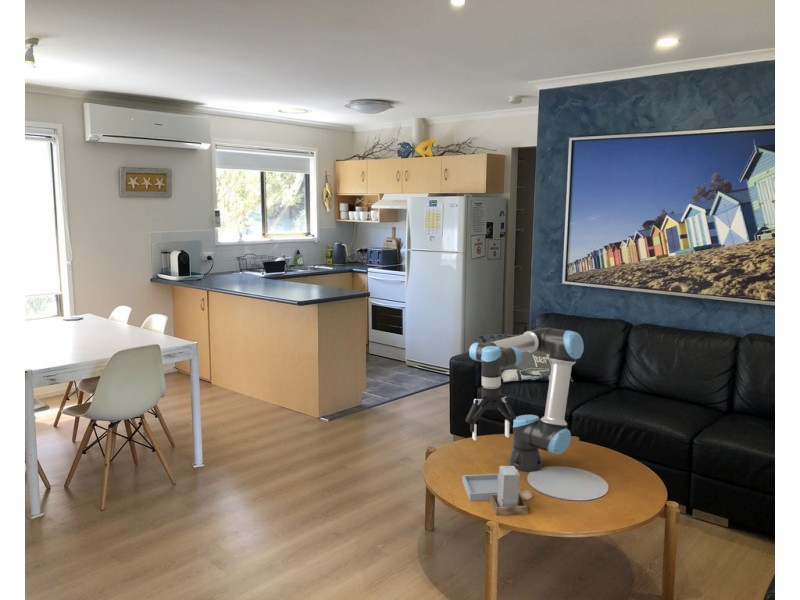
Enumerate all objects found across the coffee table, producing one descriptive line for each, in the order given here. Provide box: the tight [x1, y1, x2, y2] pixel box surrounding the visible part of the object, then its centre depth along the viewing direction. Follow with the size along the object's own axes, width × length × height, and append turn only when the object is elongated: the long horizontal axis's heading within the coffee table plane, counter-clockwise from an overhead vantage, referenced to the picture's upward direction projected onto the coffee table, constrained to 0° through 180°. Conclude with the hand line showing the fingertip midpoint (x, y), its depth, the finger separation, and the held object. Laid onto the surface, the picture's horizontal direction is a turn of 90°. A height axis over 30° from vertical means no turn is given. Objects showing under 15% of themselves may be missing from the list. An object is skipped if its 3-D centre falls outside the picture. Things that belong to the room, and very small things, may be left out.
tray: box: [461, 473, 499, 502], centre depth 256 cm, size 16×18×3 cm
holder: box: [489, 493, 528, 516], centre depth 241 cm, size 12×12×3 cm
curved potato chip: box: [519, 488, 534, 501], centre depth 251 cm, size 9×9×1 cm
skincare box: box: [496, 465, 521, 507], centre depth 240 cm, size 8×7×16 cm
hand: (490, 438), depth 242 cm, fingers open, 13 cm apart
